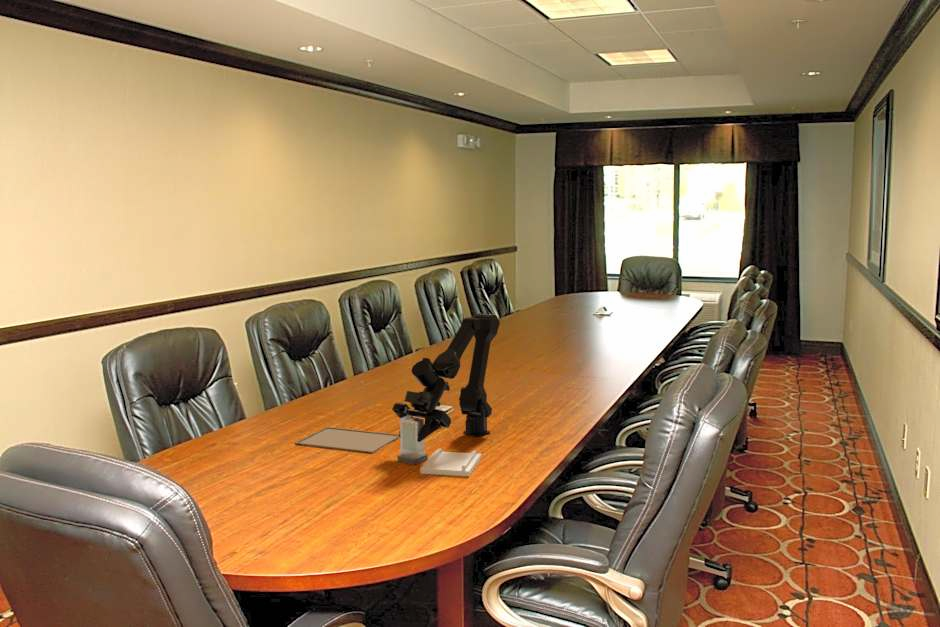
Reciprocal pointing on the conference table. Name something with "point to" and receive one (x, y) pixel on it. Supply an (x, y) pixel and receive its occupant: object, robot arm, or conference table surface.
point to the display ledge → (451, 463)
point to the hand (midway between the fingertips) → (409, 439)
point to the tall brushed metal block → (411, 440)
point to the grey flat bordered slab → (348, 439)
